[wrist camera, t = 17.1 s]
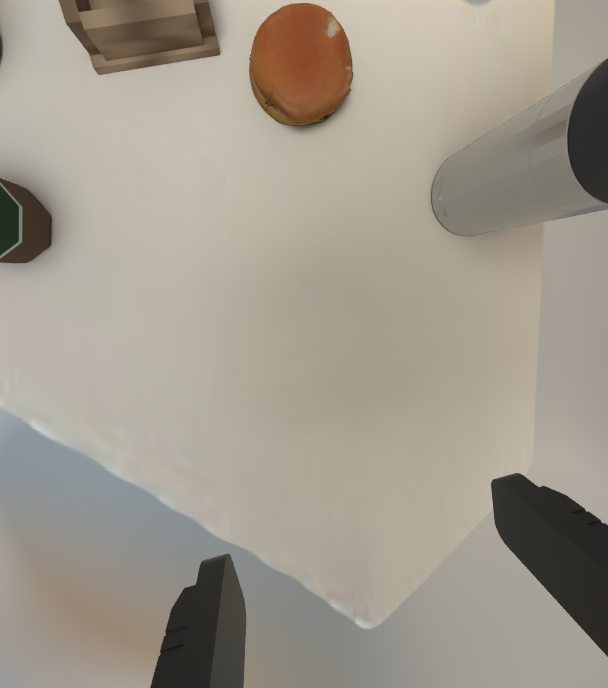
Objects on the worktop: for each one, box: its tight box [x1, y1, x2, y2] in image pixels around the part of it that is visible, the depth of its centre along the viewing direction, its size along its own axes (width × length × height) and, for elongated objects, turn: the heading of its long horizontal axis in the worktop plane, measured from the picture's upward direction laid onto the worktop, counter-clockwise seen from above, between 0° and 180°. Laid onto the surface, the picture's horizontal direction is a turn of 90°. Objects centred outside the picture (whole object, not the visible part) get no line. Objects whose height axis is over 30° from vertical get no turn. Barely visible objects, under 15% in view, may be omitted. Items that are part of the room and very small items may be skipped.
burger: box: [249, 3, 353, 125], centre depth 32 cm, size 10×9×5 cm
